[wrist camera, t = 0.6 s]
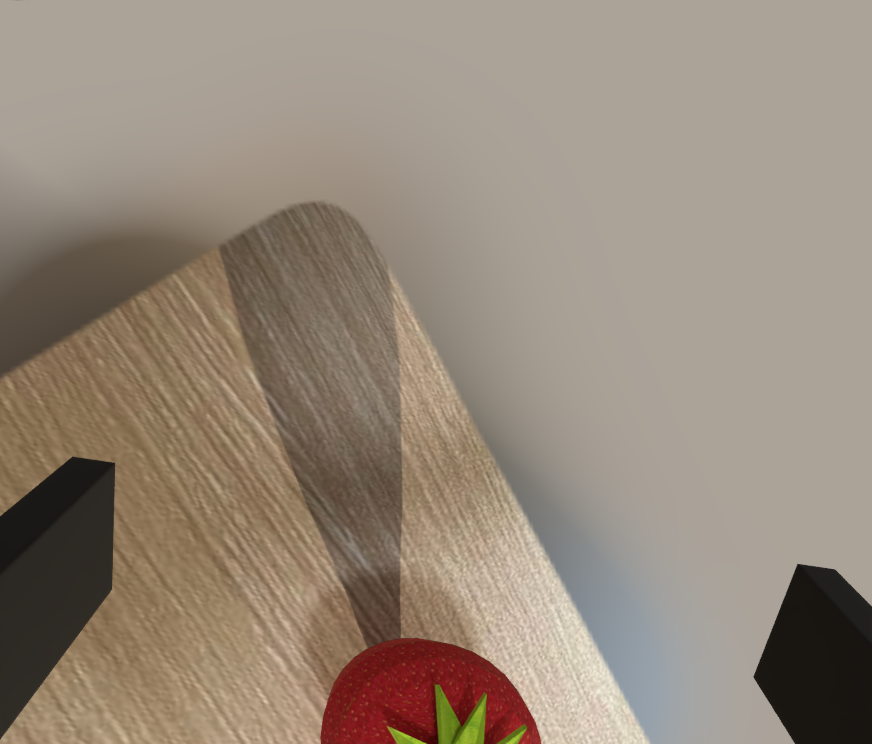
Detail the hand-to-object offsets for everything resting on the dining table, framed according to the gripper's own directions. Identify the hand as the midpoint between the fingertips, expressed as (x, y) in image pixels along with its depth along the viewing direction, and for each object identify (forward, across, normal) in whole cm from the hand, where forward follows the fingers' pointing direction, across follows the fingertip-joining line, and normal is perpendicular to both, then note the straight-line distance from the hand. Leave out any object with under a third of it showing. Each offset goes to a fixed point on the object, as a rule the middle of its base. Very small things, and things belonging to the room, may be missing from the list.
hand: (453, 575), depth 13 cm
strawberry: (+10, 0, -12) cm, 16 cm away
